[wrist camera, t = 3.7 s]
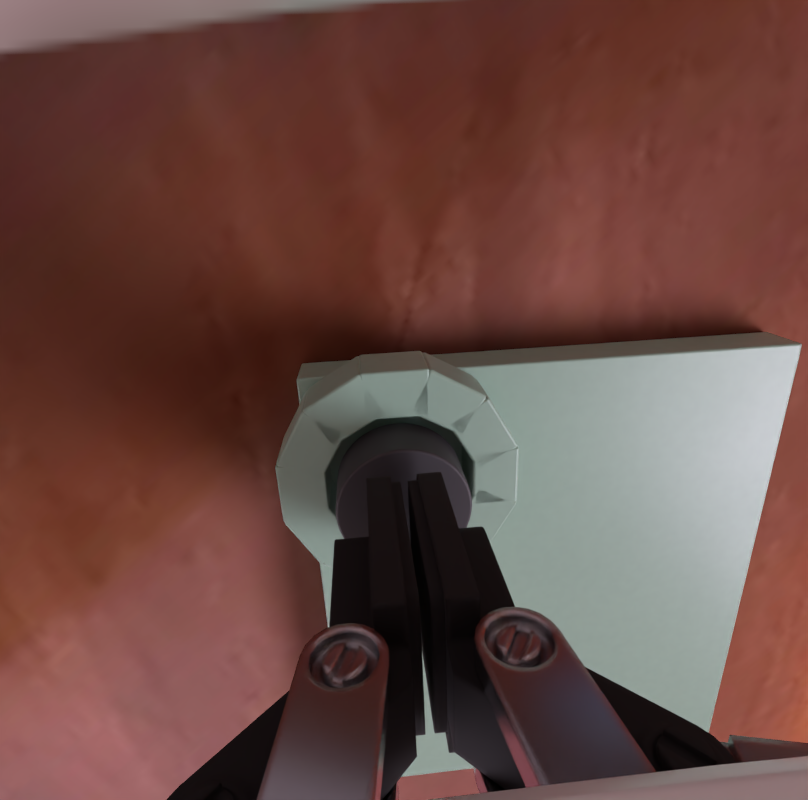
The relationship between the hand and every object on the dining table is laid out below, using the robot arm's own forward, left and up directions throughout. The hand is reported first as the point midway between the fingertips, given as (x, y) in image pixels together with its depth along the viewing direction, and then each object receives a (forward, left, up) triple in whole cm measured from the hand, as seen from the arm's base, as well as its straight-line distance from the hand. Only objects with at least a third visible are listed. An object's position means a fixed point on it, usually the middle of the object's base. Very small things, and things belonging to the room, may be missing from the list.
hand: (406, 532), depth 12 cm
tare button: (0, 0, -2) cm, 2 cm away
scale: (+5, +5, -5) cm, 8 cm away
